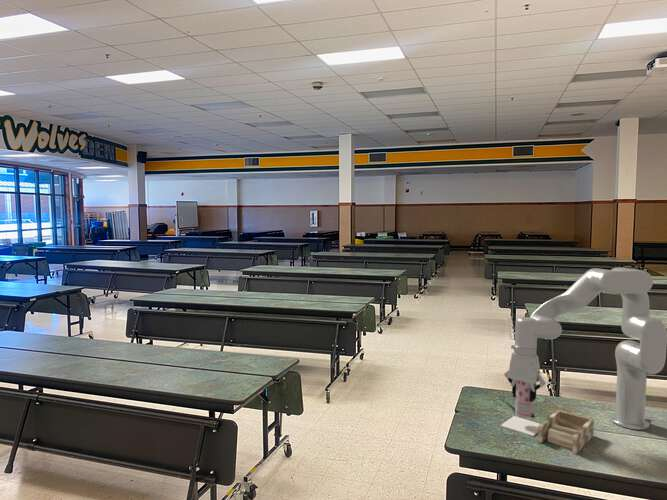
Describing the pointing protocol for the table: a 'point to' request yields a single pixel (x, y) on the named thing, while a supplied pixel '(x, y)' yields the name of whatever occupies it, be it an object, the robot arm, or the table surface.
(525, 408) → the beverage can
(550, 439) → the offcut lower
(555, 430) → the offcut upper
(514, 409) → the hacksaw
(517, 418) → the pad
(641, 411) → the robot arm
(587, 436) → the frame
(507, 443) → the table surface
